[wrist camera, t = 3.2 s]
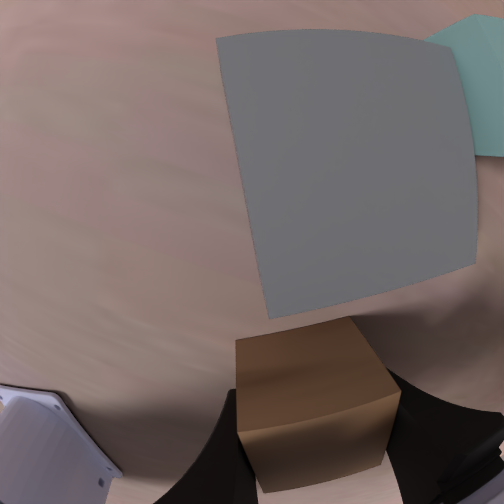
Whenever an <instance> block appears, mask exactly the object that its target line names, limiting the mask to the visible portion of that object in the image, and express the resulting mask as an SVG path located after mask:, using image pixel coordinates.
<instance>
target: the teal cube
mask: <svg viewBox="0 0 504 504" xmlns="http://www.w3.org/2000/svg"><path fill="white" fill-rule="evenodd" d="M423 41H426V42H431V43H435V44H439V45H443V46H447V47H450V48H451V50H452V53H453V56H454V59H455V63H456V66H457V69H458V73H459V76H460V80H461V84H462V88H463V92H464V96H465V100H466V105H467V109H468V115H469V120H470V126H471V132H472V138H473V146H474V154H475V155H481V156H499V157H504V19H502V18H497V17H491V16H485V15H478V14H473V15H471V16H469V17H467V18H465V19H463V20H460V21H458V22H456V23H454V24H452V25H451V26H449V27H447V28H445V29H443V30H441V31H439V32H437V33H435V34H433V35H432V36H430V37H428V38H426V39H424V40H423Z"/></svg>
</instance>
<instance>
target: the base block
mask: <svg viewBox="0 0 504 504" xmlns="http://www.w3.org/2000/svg"><path fill="white" fill-rule="evenodd" d="M216 44H217V50H218V57H219V64H220V70H221V76H222V81H223V86H224V92H225V97H226V102H227V107H228V112H229V117H230V123H231V128H232V133H233V138H234V143H235V149H236V154H237V159H238V164H239V170H240V175H241V180H242V185H243V191H244V196H245V201H246V206H247V212H248V217H249V222H250V227H251V233H252V238H253V243H254V249H255V254H256V259H257V264H258V270H259V275H260V280H261V285H262V289H263V294H264V298H265V303H266V307H267V312H268V316H269V319H273V318H278V317H283V316H288V315H292V314H297V313H302V312H306V311H311V310H315V309H320V308H324V307H328V306H333V305H337V304H341V303H345V302H349V301H353V300H357V299H361V298H364V297H368V296H372V295H376V294H379V293H383V292H387V291H390V290H394V289H397V288H401V287H404V286H408V285H411V284H414V283H418V282H421V281H424V280H427V279H430V278H434V277H437V276H440V275H443V274H446V273H449V272H452V271H455V270H458V269H461V268H464V267H467V266H469V265H472V264H475V263H476V252H477V233H478V194H477V175H476V163H475V154H474V146H473V138H472V132H471V126H470V120H469V115H468V109H467V105H466V100H465V96H464V92H463V88H462V84H461V80H460V76H459V73H458V69H457V66H456V63H455V59H454V56H453V53H452V50H451V48H450V47H447V46H443V45H439V44H435V43H431V42H426V41H422V40H417V39H412V38H407V37H401V36H395V35H388V34H381V33H372V32H362V31H350V30H327V29H302V30H279V31H266V32H256V33H248V34H240V35H233V36H227V37H221V38H216Z"/></svg>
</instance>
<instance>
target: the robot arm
mask: <svg viewBox="0 0 504 504" xmlns="http://www.w3.org/2000/svg"><path fill="white" fill-rule="evenodd" d="M385 368H386V367H385ZM386 369H387V371H388V372H389V374H390V375H391V376H392V378H393V379H394V381H395V382H396V384H397V385H398V387H399V388H400V390H401V395H400V400H399V404H398V408H397V412H396V416H395V420H394V424H393V427H392V431H391V434H390V438H389V441H388V444H387V448H386V451H387V454H388V456H389V459H390V462H391V464H392V467H393V470H394V473H395V476H396V479H397V482H398V486H399V489H400V493H401V496H402V501H403V504H504V461H503V460H502V459H501V457H500V456H499V455H500V454H501V453H502V451H501V450H500V449H499V446H500V445H501V443H502V442H503V441H504V416H503V415H502V414H501V413H500V412H489V411H481V410H475V409H470V408H466V407H462V406H459V405H455V404H452V403H449V402H446V401H444V400H441V399H439V398H436V397H434V396H432V395H430V394H428V393H426V392H424V391H422V390H420V389H418V388H416V387H415V386H413V385H411V384H410V383H408V382H407V381H405V380H404V379H402V378H400V377H399V376H398V375H396V374H395V373H393V372H392V371H390V370H389V369H388V368H386ZM0 400H1V402H2V403H3V405H4V406H5V408H4V409H3V410H2V412H1V413H0V504H105V502H106V499H107V495H108V492H109V488H110V485H111V481H112V478H113V477H116V478H122V475H123V473H122V472H121V471H120V470H119V469H118V468H117V467H116V466H115V465H114V464H113V463H112V462H111V461H110V460H109V458H108V457H107V456H106V455H105V454H104V453H103V452H102V451H101V450H100V448H99V447H98V446H97V445H96V444H95V443H94V441H93V440H92V439H91V438H90V437H89V435H88V434H87V433H86V432H85V430H84V429H83V428H82V427H81V425H80V424H79V423H78V421H77V420H76V419H75V418H74V416H73V415H72V413H71V412H70V411H69V409H68V408H67V406H66V405H65V404H64V402H63V401H62V399H61V398H60V397H59V396H58V395H57V394H55V393H52V392H43V391H34V390H27V389H20V388H14V387H8V386H2V385H0ZM153 504H258V497H257V489H256V477H255V473H254V471H253V468H252V466H251V464H250V462H249V459H248V457H247V455H246V452H245V450H244V447H243V445H242V443H241V440H240V438H239V435H238V433H237V399H236V389H230V390H229V391H228V394H227V398H226V401H225V404H224V407H223V409H222V412H221V414H220V417H219V419H218V421H217V424H216V426H215V428H214V430H213V432H212V434H211V436H210V438H209V439H208V441H207V443H206V445H205V447H204V448H203V450H202V451H201V453H200V454H199V456H198V457H197V459H196V460H195V462H194V463H193V464H192V466H191V467H190V468H189V469H188V471H187V472H186V473H185V474H184V475H183V477H182V478H181V479H180V480H179V481H178V482H177V483H176V484H175V485H174V486H173V487H172V488H171V489H170V490H169V491H168V492H167V493H166V494H164V495H163V496H162V497H161V498H160V499H158V500H157V501H156V502H155V503H153Z"/></svg>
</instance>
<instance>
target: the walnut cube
mask: <svg viewBox="0 0 504 504" xmlns="http://www.w3.org/2000/svg"><path fill="white" fill-rule="evenodd" d="M400 395H401V390H400V388H399V387H398V385H397V384H396V382H395V381H394V379H393V378H392V376H391V375H390V374H389V372H388V371H387V369H386V368H385V366H384V365H383V363H382V362H381V360H380V359H379V358H378V356H377V355H376V353H375V352H374V350H373V349H372V348H371V346H370V345H369V343H368V342H367V341H366V339H365V338H364V336H363V335H362V334H361V332H360V331H359V329H358V328H357V327H356V325H355V324H354V322H353V321H352V320H351V318H350V317H349V316H348V317H344V318H340V319H336V320H332V321H328V322H323V323H319V324H315V325H310V326H306V327H302V328H297V329H292V330H288V331H283V332H278V333H273V334H268V335H262V336H257V337H252V338H246V339H240V340H236V399H237V433H238V435H239V438H240V440H241V443H242V445H243V447H244V450H245V452H246V455H247V457H248V459H249V462H250V464H251V466H252V468H253V471H254V473H255V475H256V477H257V480H258V482H259V484H260V486H261V488H262V490H263V493H271V492H278V491H284V490H290V489H295V488H300V487H305V486H310V485H314V484H319V483H323V482H327V481H331V480H334V479H338V478H342V477H345V476H348V475H352V474H355V473H358V472H361V471H364V470H367V469H370V468H373V467H375V466H378V465H381V463H382V460H383V457H384V454H385V451H386V448H387V444H388V441H389V438H390V434H391V431H392V427H393V424H394V420H395V416H396V412H397V408H398V404H399V400H400Z"/></svg>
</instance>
